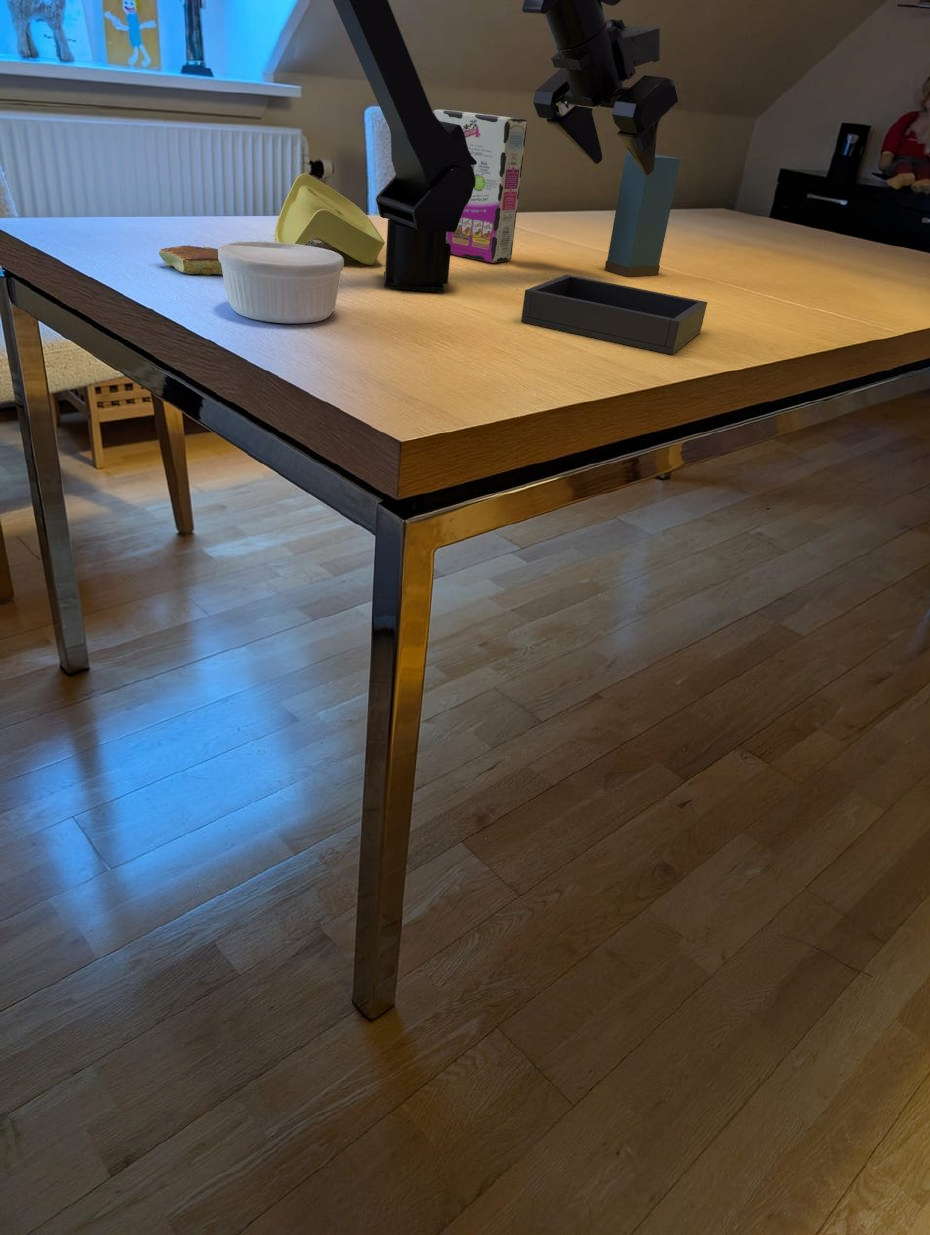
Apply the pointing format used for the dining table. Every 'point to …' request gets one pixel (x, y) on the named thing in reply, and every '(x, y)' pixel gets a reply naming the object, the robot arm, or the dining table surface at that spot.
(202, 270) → the brown and green slab
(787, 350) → the dining table surface
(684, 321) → the dark grey tray
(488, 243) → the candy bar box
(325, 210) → the plastic component
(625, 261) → the blue rectangular block
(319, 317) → the ramekin
